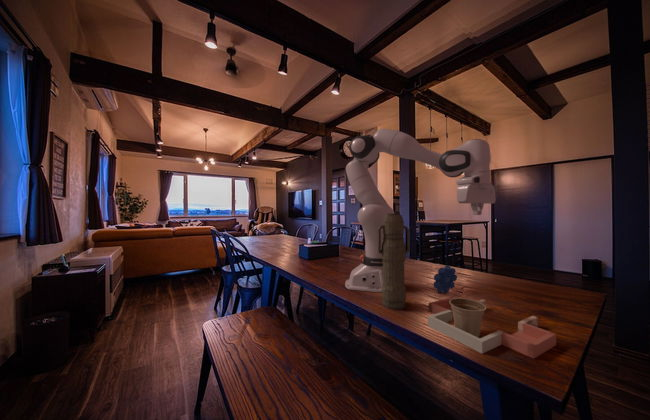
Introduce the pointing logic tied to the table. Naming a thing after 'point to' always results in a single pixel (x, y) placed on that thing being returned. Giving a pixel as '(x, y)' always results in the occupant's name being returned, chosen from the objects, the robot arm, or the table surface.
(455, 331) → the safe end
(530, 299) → the table surface
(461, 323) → the flower pot
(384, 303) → the thermos
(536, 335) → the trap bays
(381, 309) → the table surface
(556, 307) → the table surface
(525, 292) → the table surface
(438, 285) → the grapes
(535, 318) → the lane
